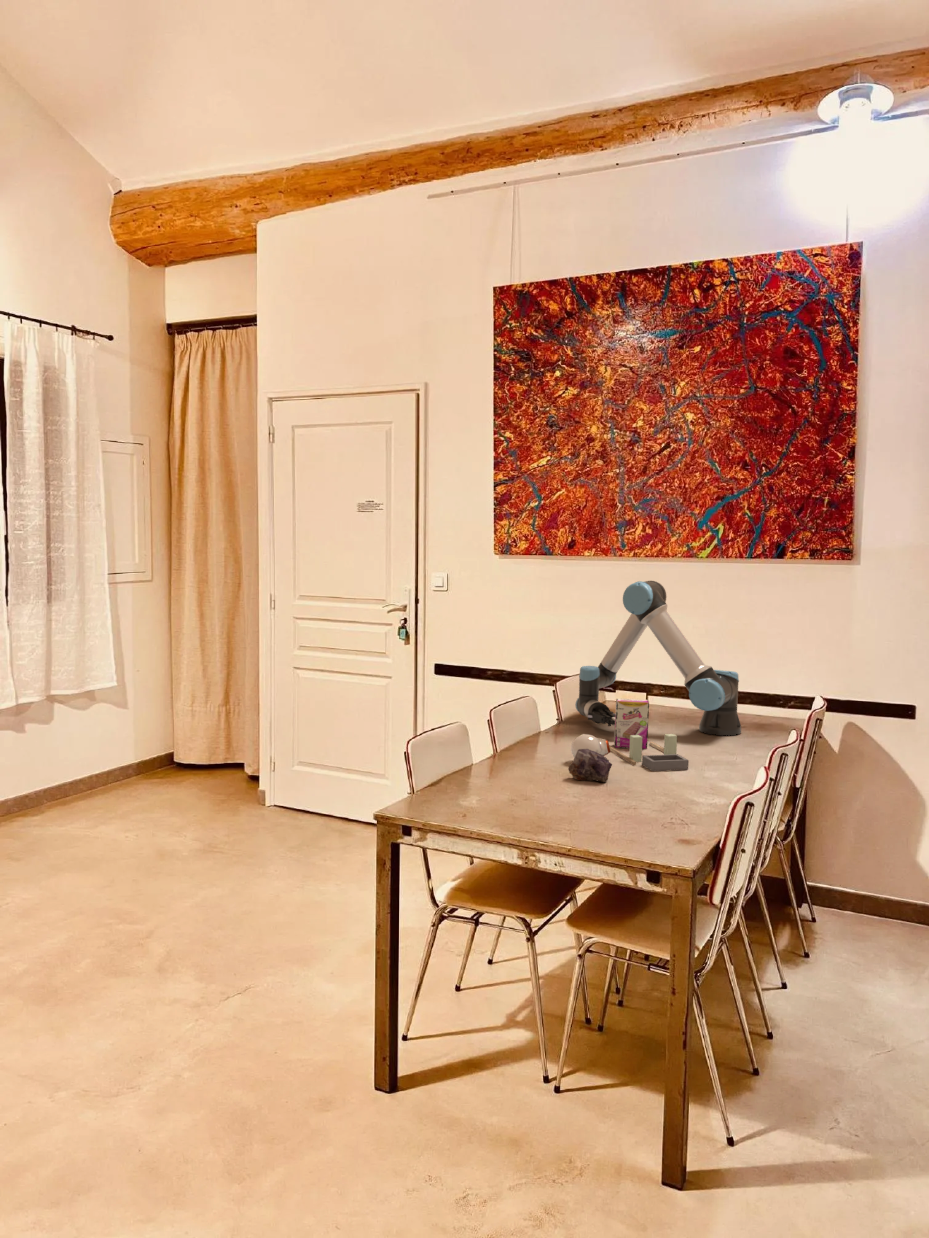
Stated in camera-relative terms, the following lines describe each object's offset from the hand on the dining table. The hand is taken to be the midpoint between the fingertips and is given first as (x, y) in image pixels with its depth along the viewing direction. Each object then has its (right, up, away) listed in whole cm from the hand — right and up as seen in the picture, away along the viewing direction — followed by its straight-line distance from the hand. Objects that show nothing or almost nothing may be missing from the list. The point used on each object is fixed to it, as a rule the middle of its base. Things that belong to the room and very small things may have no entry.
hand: (620, 724), depth 339 cm
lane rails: (+4, -8, -19) cm, 21 cm away
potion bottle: (-15, -9, -29) cm, 34 cm away
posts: (+6, -9, -26) cm, 28 cm away
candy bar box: (+2, -7, -8) cm, 11 cm away
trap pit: (+8, -10, -36) cm, 38 cm away
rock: (-17, -11, -52) cm, 55 cm away
